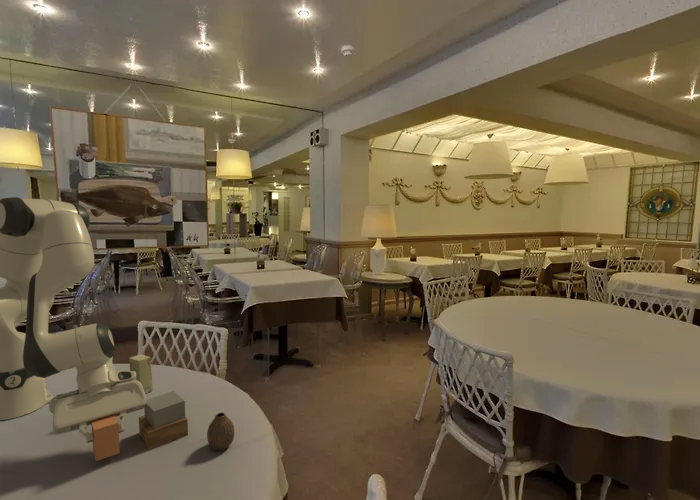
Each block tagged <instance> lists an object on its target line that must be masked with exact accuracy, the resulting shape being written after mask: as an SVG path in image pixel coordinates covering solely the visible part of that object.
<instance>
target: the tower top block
mask: <svg viewBox="0 0 700 500" xmlns="http://www.w3.org/2000/svg"><path fill="white" fill-rule="evenodd" d="M146 399H147V398H146ZM143 409H144V415H145V418H146V420H147V421H148V422H149V423H150V424H151V425H152V426H153V427H154V429H157V428H159V427H162V426H165V425H167V424H170V423H173V422H175V421H178V420H180V419H183V418H185V417H186V401H185V399H183V398H182V397H181V396H180V395H178V394H177V392H175V391H174V390H173V391H169V392H167V393H164V394H161V395H157V396H154V397H151V398H148V399H147V402H146V405H145V407H144V408H143Z"/></svg>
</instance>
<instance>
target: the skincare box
mask: <svg viewBox="0 0 700 500" xmlns="http://www.w3.org/2000/svg"><path fill="white" fill-rule="evenodd" d="M128 360H129V361H128V362H129V371H134V372H136V380H137V381H139V382H140V383H141V384H142V387H143V389H144V392H145V395H146V394H149V393H150V392H152V391H153V376H152V375H153V374H152V364H151V363H152V361H151V357H150V356H148V355H145V354H141V353H140V354H137V355H134V356H131V357H129V359H128Z"/></svg>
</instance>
